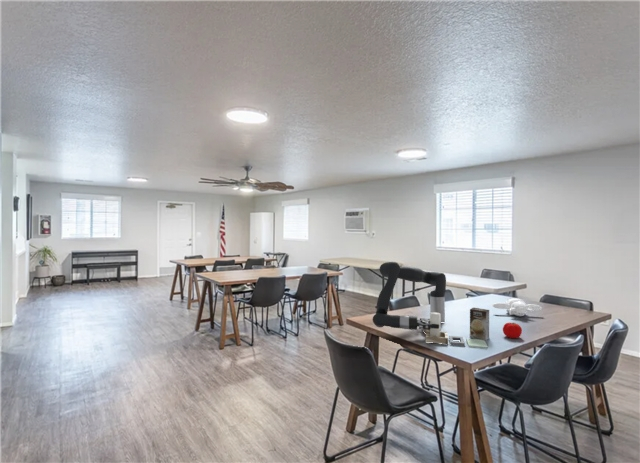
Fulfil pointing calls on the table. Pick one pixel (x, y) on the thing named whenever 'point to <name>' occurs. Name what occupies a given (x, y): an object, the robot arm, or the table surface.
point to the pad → (477, 343)
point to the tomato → (512, 330)
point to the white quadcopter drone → (517, 306)
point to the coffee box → (479, 323)
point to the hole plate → (456, 341)
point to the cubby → (437, 338)
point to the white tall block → (435, 319)
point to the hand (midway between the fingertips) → (438, 324)
